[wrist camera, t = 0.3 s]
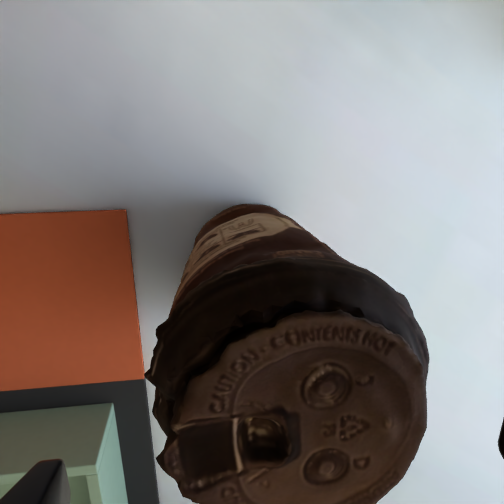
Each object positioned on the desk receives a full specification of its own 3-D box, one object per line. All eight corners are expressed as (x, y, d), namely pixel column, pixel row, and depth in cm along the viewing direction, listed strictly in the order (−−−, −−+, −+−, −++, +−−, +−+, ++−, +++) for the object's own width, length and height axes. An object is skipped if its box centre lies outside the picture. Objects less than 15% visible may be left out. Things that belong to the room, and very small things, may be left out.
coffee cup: (134, 279, 22) (62, 493, 10) (220, 148, 20) (262, 208, 8) (265, 350, 24) (336, 589, 12) (350, 238, 23) (530, 388, 11)
